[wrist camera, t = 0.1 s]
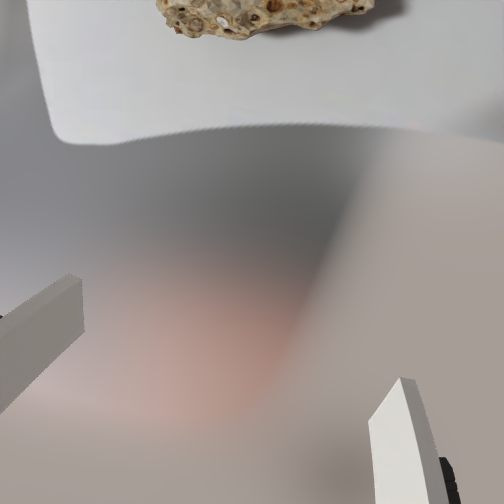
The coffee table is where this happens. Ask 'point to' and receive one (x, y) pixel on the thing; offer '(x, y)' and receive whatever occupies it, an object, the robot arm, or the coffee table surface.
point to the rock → (253, 15)
